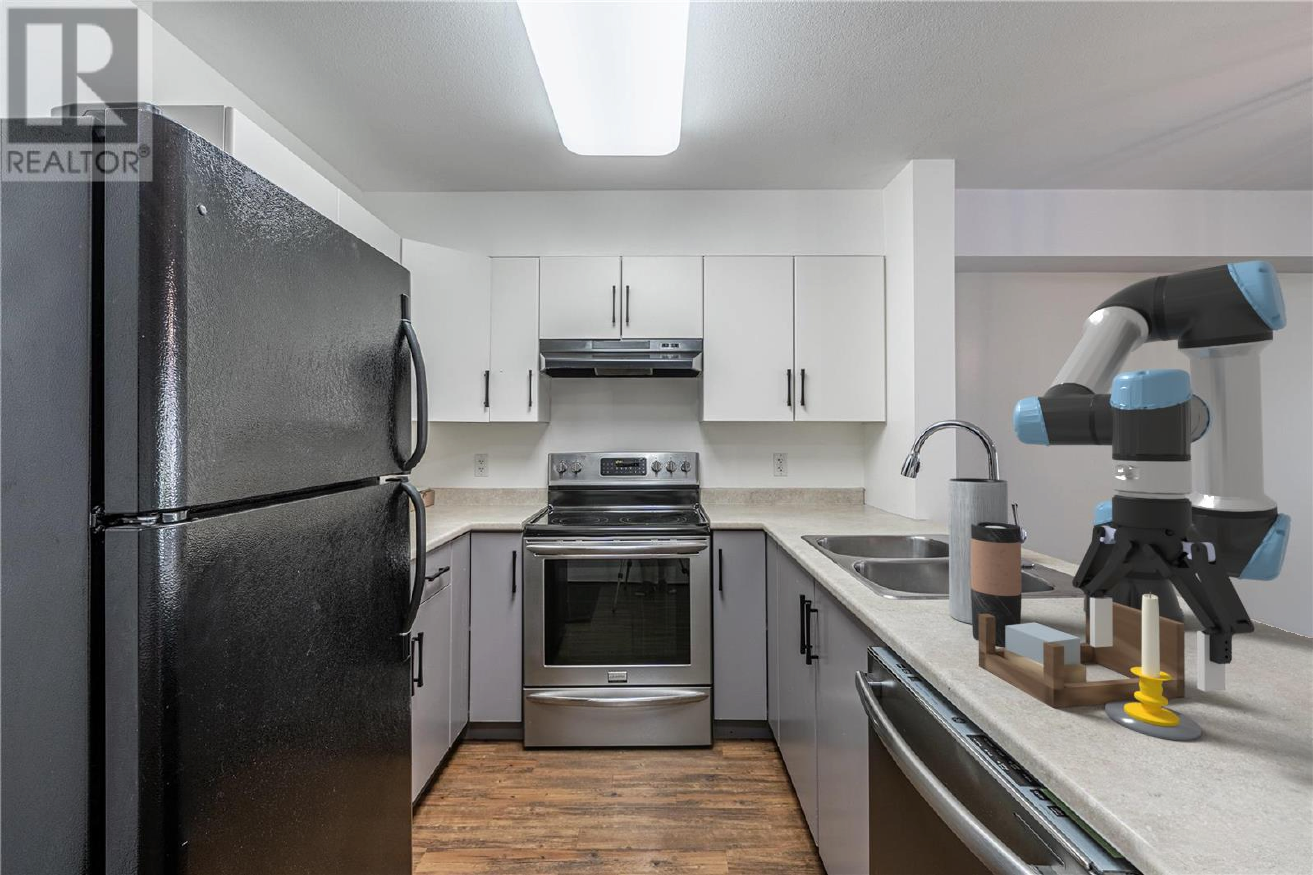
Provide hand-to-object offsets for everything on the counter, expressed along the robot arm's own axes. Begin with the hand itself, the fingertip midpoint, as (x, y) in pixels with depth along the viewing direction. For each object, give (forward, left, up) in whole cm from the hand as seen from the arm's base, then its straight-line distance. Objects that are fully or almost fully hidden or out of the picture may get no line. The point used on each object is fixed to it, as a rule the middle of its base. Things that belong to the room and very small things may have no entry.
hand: (1151, 665), depth 71 cm
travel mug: (-2, -29, -7) cm, 30 cm away
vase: (-7, -40, -7) cm, 41 cm away
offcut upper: (+4, -12, -3) cm, 13 cm away
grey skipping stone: (0, 0, -7) cm, 7 cm away
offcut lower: (+4, -12, -7) cm, 15 cm away
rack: (-1, -12, -7) cm, 14 cm away
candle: (0, 0, -7) cm, 7 cm away
